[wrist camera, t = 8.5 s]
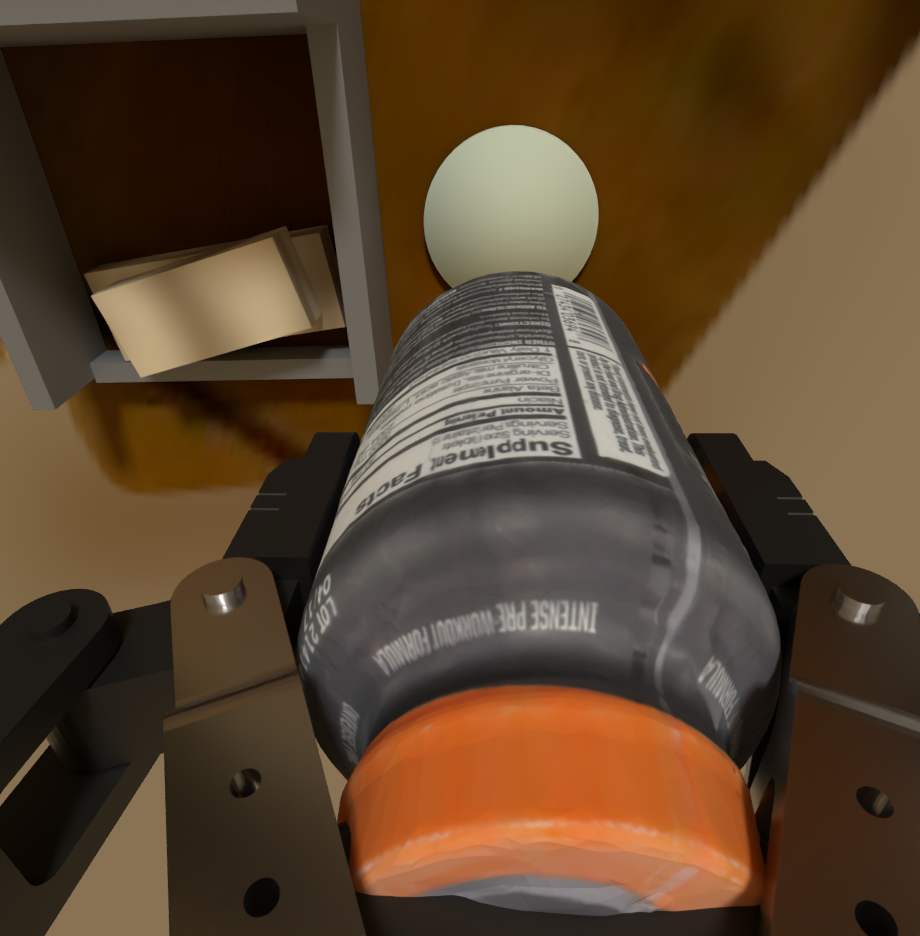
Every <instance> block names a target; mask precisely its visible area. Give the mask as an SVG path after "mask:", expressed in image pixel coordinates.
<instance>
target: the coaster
mask: <svg viewBox="0 0 920 936" xmlns="http://www.w3.org/2000/svg"><path fill="white" fill-rule="evenodd" d="M597 227H598V201H597V195H596V191H595V187H594V184H593V182H592V179H591V176H590V174H589V172H588V170H587V169H586V167H585V165H584V163H583V162H582V161H581V160H580V158H579V157H578V156H577V154H576V153H575V152H574V151H573V150H572V149H571V148H570V147H569V146H568V145H567V144H565V143H564V142H563V141H561V140H560V139H558V138H557V137H555V136H554V135H552V134H550V133H548V132H546V131H543V130H540V129H537V128H534V127H529V126H524V125H506V126H498V127H494V128H490V129H487V130H484V131H482V132H479V133H477V134H475V135H473V136H472V137H470V138H468V139H467V140H465V141H464V142H463V143H461V144H460V145H459V146H458V147H456V148H455V149H454V150H453V151H452V152H451V153H450V154H449V155H448V156H447V158H446V159H445V160H444V162H443V163H442V165H441V166H440V167H439V169H438V171H437V173H436V175H435V176H434V178H433V181H432V183H431V186H430V188H429V191H428V195H427V199H426V203H425V210H424V232H425V240H426V243H427V247H428V251H429V253H430V256H431V259H432V261H433V263H434V265H435V266H436V268H437V270H438V272H439V273H440V274H441V276H442V277H443V279H444V280H445V281H446V282H447V283H448V284H449V285H450V286H451V287H452V288H454V287H456V286H458V285H460V284H463V283H465V282H467V281H469V280H471V279H474V278H477V277H480V276H484V275H488V274H492V273H500V272H508V271H527V272H537V273H543V274H547V275H552V276H556V277H560V278H563V279H565V280H568V281H570V282H572V281H573V279H574V278H575V277H576V276H577V275H578V273H579V272H580V271H581V269H582V268H583V266H584V265H585V263H586V261H587V259H588V257H589V255H590V253H591V250H592V248H593V245H594V242H595V238H596V234H597Z"/></svg>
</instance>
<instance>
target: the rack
mask: <svg viewBox="0 0 920 936" xmlns="http://www.w3.org/2000/svg"><path fill="white" fill-rule="evenodd" d="M294 34H307V37H308V45H309V52H310V59H311V67H312V74H313V82H314V89H315V96H316V104H317V111H318V119H319V126H320V133H321V141H322V148H323V156H324V163H325V170H326V178H327V185H328V192H329V200H330V207H331V215H332V222H333V229H334V237H335V244H336V252H337V259H338V266H339V274H340V281H341V289H342V296H343V303H344V311H345V318H346V326H347V333H348V340H349V345H332V346H286V347H244V348H241V349H237V350H234V351H231V352H227V353H224V354H220V355H217V356H213V357H210V358H207V359H203V360H200V361H196V362H193V363H190V364H186V365H183V366H179V367H176V368H172V369H169V370H166V371H162V372H159V373H155V374H152V375H148V376H145V377H142V378H141V377H140V375H139V374H138V372H137V371H136V369H135V367H134V366H133V364H132V362H131V361H125V359H124V357H123V355H122V353H121V351H120V350H107V349H106V346H105V343H104V340H103V337H102V335H101V332H100V329H99V326H98V323H97V320H96V317H95V315H94V312H93V309H92V306H91V303H90V300H89V298H88V295H87V292H86V289H85V286H84V283H83V281H82V278H81V275H80V272H79V269H78V266H77V264H76V261H75V258H74V255H73V252H72V249H71V246H70V244H69V241H68V238H67V235H66V232H65V229H64V227H63V224H62V221H61V218H60V215H59V212H58V210H57V207H56V204H55V201H54V198H53V195H52V193H51V190H50V187H49V184H48V181H47V178H46V176H45V173H44V170H43V167H42V164H41V161H40V158H39V156H38V153H37V150H36V147H35V144H34V141H33V139H32V136H31V133H30V130H29V127H28V124H27V122H26V119H25V116H24V113H23V110H22V107H21V105H20V102H19V99H18V96H17V93H16V90H15V88H14V85H13V82H12V79H11V76H10V73H9V70H8V68H7V65H6V62H5V59H4V56H3V53H2V51H1V48H0V336H1V338H2V340H3V343H4V345H5V347H6V349H7V352H8V354H9V356H10V358H11V361H12V363H13V365H14V367H15V370H16V372H17V374H18V377H19V379H20V381H21V383H22V386H23V388H24V390H25V392H26V395H27V397H28V399H29V401H30V404H31V406H32V408H33V410H55V409H57V408H58V407H59V406H60V405H62V404H63V403H64V402H66V401H67V400H68V399H69V398H71V397H72V396H73V395H74V394H76V393H77V392H78V391H79V390H81V389H82V388H83V387H84V386H86V385H87V384H88V383H89V382H91V381H92V380H93V379H94V378H95V380H96V382H97V383H113V382H165V381H217V380H269V379H322V378H354V385H355V392H356V399H357V404H374V403H375V400H376V398H377V395H378V391H379V389H380V386H381V383H382V380H383V377H384V375H385V373H386V370H387V368H388V365H389V362H390V359H391V357H392V354H393V352H394V350H393V340H392V330H391V319H390V309H389V298H388V288H387V278H386V267H385V257H384V246H383V236H382V226H381V215H380V205H379V195H378V184H377V174H376V163H375V153H374V143H373V132H372V122H371V111H370V101H369V91H368V80H367V70H366V60H365V49H364V39H363V28H362V18H361V8H360V0H0V47H23V46H45V45H68V44H91V43H113V42H136V41H158V40H181V39H204V38H226V37H249V36H271V35H294Z"/></svg>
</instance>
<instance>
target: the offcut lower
mask: <svg viewBox="0 0 920 936" xmlns="http://www.w3.org/2000/svg"><path fill="white" fill-rule="evenodd" d="M289 234H290V236H291V239H292V241H293V244H294V246H295V248H296V251H297V253H298V255H299V258H300V260H301V262H302V265H303V267H304V269H305V272H306V274H307V277H308V279H309V281H310V284H311V286H312V288H313V291H314V293H315V295H316V298H317V300H318V302H319V305H320V307H321V310H322V313H321V315H320V316H319V318H318V319H317V321H316V322H315V324H314V325H313V327H312V328H309V329H306V330H302V331H299V332H296V333H292V334H289V335H285V336H290V335H297V334H303V333H309V332H316V331H322V330H329V329H335V328H341V327H345V326H346V318H345V311H344V303H343V296H342V289H341V281H340V274H339V267H338V263H337V259H336V256H335V252H334V248H333V244H332V241H331V237H330V233H329V229H328V226H327V225H323V226H317V227H311V228H306V229H300V230H294V231H289ZM243 240H245V239H243ZM238 241H241V240H238ZM238 241H232V242H226V243H220V244H215V245H209V246H203V247H198V248H192V249H186V250H181V251H175V252H169V253H164V254H158V255H152V256H147V257H141V258H135V259H130V260H124V261H118V262H113V263H107V264H102V265H100V266H98V267H96V268H94V269H92V270H90V271H88V272H87V273H85V274H84V276H85V278H86V280H87V282H88V284H89V286H90V288H91V290H92V293H93V294H95V293H97V292H98V291H100V290H102V289H104V288H105V287H107V286H109V285H110V284H112V283H114V282H116V281H119V280H122V279H125V278H128V277H131V276H134V275H137V274H140V273H143V272H146V271H149V270H153V269H156V268H159V267H162V266H165V265H168V264H171V263H174V262H177V261H180V260H183V259H186V258H189V257H192V256H195V255H199V254H202V253H205V252H208V251H211V250H214V249H217V248H220V247H223V246H226V245H229V244H232V243H235V242H238ZM107 324H108V323H107ZM108 326H109V325H108ZM109 328H110V327H109ZM110 330H111V328H110ZM111 332H112V334H113V336H114V338H115V340H116V343H117V345H118V347H119V349H120V351H121V353H122V355H123V357H124V359H125V361H130V359H129V358H128V356H127V354H126V353H125V351H124V349H123V348H122V346H121V344H120V343H119V341H118V340H117V338H116V336H115V335H114V333H113V331H112V330H111ZM282 337H284V336H282Z"/></svg>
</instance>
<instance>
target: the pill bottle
mask: <svg viewBox="0 0 920 936" xmlns="http://www.w3.org/2000/svg"><path fill="white" fill-rule="evenodd" d="M296 667H297V670H298V673H299V677H300V681H301V685H302V689H303V693H304V697H305V700H306V704H307V708H308V712H309V716H310V720H311V724H312V728H313V731H314V735H315V738H316V739H317V741H318V743H319V745H320V747H321V748H322V750H323V751H324V753H325V754H326V755H327V757H328V758H329V760H330V761H331V762H332V763H333V765H334V766H335V767H336V768H337V769H338V770H339V771H340V773H341V774H342V775H343V776H344V777H345V778H346V779H347V781H348V782H347V784H346V786H345V788H344V790H343V793H342V796H341V800H340V807H339V813H338V819H337V824H340V823H342V822H345V821H346V822H347V823H348V825H349V827H350V831H351V849H350V860H349V871H350V875H351V879H352V883H353V887H354V891H356V892H360V893H364V894H368V895H380V896H397V897H425V896H442V895H457V896H462V897H467V898H469V899H472V900H474V901H477V902H480V903H485V904H489V905H494V906H499V907H503V908H509V909H515V910H522V911H535V912H548V913H560V914H574V915H590V916H609V915H615V914H621V913H633V912H649V913H650V912H653V911H685V910H695V909H705V908H716V907H730V906H756V905H761V899H762V892H763V886H764V875H765V864H764V860H763V856H762V851H761V848H760V835H759V832H758V829H757V825H756V819H755V814H754V809H753V804H752V799H751V794H750V791H749V789H748V786H747V784H746V782H745V779H744V778H743V776H742V774H741V772H740V769H741V768H742V767H743V766H744V765H745V764H746V762H747V761H748V760H749V758H750V757H751V755H752V754H753V753H754V751H755V750H756V748H757V746H758V745H759V743H760V741H761V739H762V738H763V736H764V734H765V732H766V730H767V728H768V726H769V723H770V721H771V719H772V716H773V713H774V709H775V706H776V702H777V699H778V695H779V688H780V681H781V673H782V650H781V641H780V633H779V628H778V624H777V619H776V615H775V612H774V609H773V607H772V604H771V602H770V599H769V597H768V595H767V592H766V590H765V587H764V585H763V584H762V582H761V580H760V578H759V575H758V573H757V571H756V570H755V568H754V567H753V565H752V562H751V560H750V557H749V555H748V552H747V550H746V549H745V547H744V546H743V544H742V543H741V540H740V537H739V536H738V534H737V532H736V531H735V529H734V527H733V526H732V524H731V522H730V521H729V519H728V516H727V514H726V511H725V509H724V508H723V506H722V505H721V503H720V502H719V500H718V498H717V496H716V494H715V492H714V490H713V488H712V487H711V485H710V483H709V481H708V479H707V477H706V474H705V472H704V470H703V468H702V466H701V464H700V463H699V461H698V459H697V457H696V455H695V454H694V452H693V450H692V447H691V446H690V444H689V443H688V441H687V439H686V437H685V435H684V434H683V431H682V429H681V427H680V425H679V424H678V422H677V420H676V417H675V416H674V414H673V412H672V410H671V407H670V406H669V404H668V402H667V401H666V399H665V397H664V396H663V394H662V392H661V390H660V388H659V386H658V384H657V382H656V380H655V378H654V376H653V374H652V372H651V370H650V369H649V367H648V365H647V363H646V361H645V359H644V357H643V355H642V353H641V352H640V350H639V348H638V346H637V345H636V343H635V341H634V339H633V337H632V336H631V334H630V332H629V330H628V329H627V327H626V326H625V324H624V323H623V321H622V320H621V319H620V318H619V317H618V316H617V315H616V314H615V312H614V311H613V310H612V309H611V308H610V307H609V306H608V305H607V304H606V303H604V302H603V301H602V300H601V299H600V298H598V297H597V296H595V295H594V294H592V293H591V292H589V291H588V290H586V289H584V288H583V287H581V286H579V285H578V284H575V283H573V282H570V281H568V280H565V279H563V278H560V277H556V276H552V275H547V274H543V273H537V272H527V271H508V272H500V273H492V274H488V275H484V276H480V277H477V278H474V279H471V280H469V281H467V282H465V283H463V284H460V285H458V286H456V287H454V288H452V289H450V290H448V291H446V292H444V293H443V294H441V295H439V296H438V297H436V298H435V299H434V300H432V301H431V302H430V303H429V304H428V305H427V306H425V307H424V308H423V309H422V310H421V311H420V312H419V313H418V314H417V315H416V316H415V317H414V319H413V320H412V321H411V322H410V324H409V325H408V326H407V328H406V329H405V331H404V332H403V334H402V335H401V338H400V340H399V342H398V344H397V346H396V348H395V350H394V352H393V354H392V357H391V359H390V362H389V365H388V368H387V370H386V373H385V375H384V377H383V380H382V383H381V386H380V389H379V391H378V395H377V398H376V400H375V403H374V405H373V407H372V409H371V414H370V417H369V420H368V423H367V426H366V428H365V431H364V434H363V437H362V440H361V442H360V445H359V448H358V451H357V454H356V457H355V459H354V462H353V465H352V467H351V470H350V473H349V476H348V479H347V482H346V485H345V487H344V490H343V493H342V496H341V499H340V503H339V507H338V511H337V514H336V517H335V520H334V524H333V527H332V530H331V533H330V536H329V539H328V542H327V545H326V548H325V551H324V554H323V557H322V560H321V563H320V566H319V568H318V571H317V574H316V577H315V580H314V582H313V585H312V589H311V592H310V595H309V599H308V602H307V604H306V606H305V608H304V612H303V617H302V621H301V625H300V629H299V633H298V638H297V648H296Z"/></svg>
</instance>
